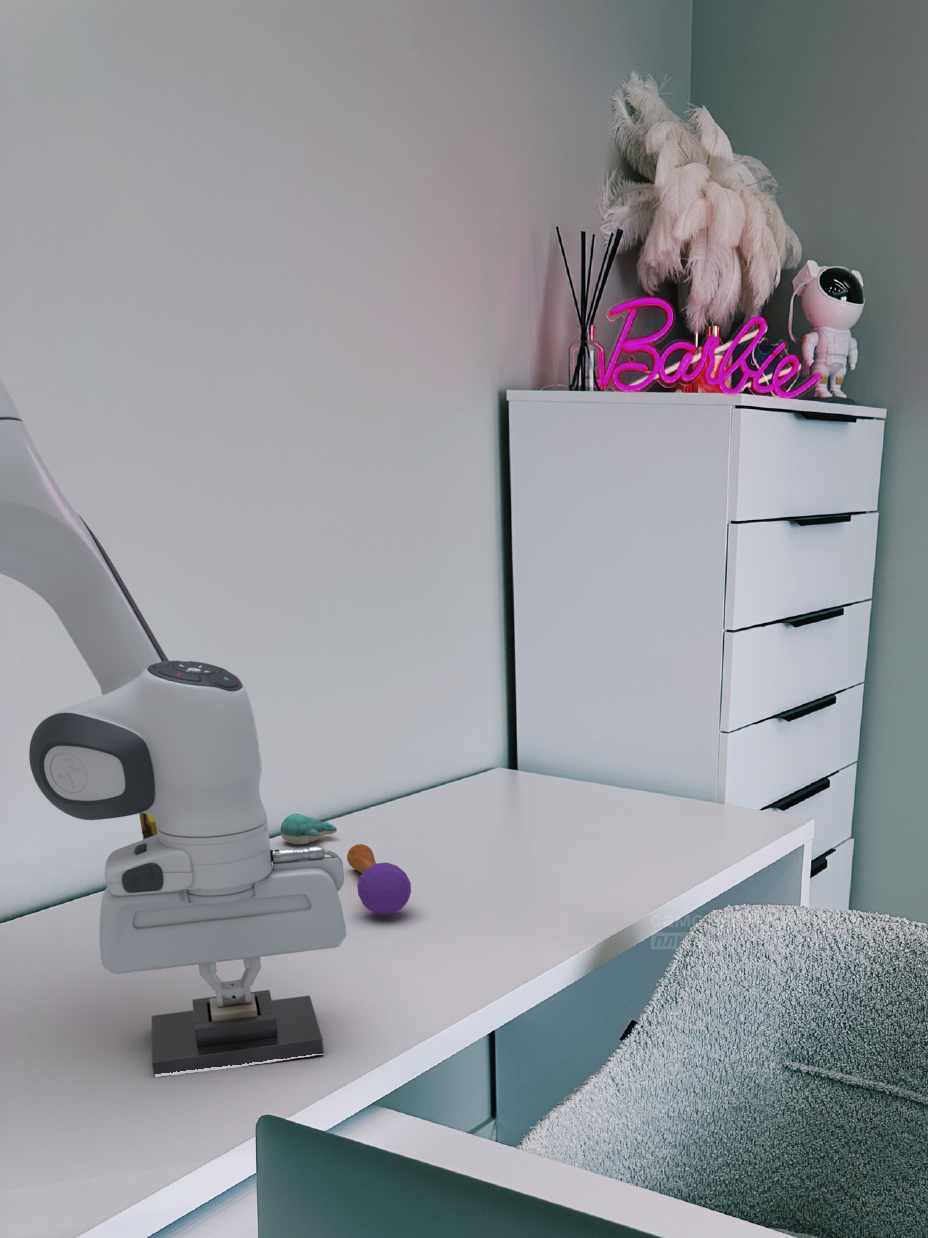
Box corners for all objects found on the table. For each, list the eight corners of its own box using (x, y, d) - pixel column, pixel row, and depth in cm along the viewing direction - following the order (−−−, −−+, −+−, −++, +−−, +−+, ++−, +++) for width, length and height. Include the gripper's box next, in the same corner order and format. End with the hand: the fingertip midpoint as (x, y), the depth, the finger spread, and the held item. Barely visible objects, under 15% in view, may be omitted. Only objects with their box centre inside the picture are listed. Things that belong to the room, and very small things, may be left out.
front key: (213, 1035, 110) (211, 1014, 110) (211, 1018, 114) (209, 998, 113) (259, 1029, 112) (256, 1008, 111) (255, 1012, 115) (253, 992, 114)
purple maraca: (386, 836, 160) (419, 872, 143) (380, 881, 162) (411, 922, 144) (339, 831, 158) (366, 866, 140) (333, 877, 159) (359, 917, 141)
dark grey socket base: (154, 1080, 107) (149, 1043, 105) (153, 1032, 115) (148, 997, 114) (324, 1055, 112) (320, 1020, 110) (311, 1011, 120) (308, 977, 119)
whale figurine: (274, 838, 171) (272, 811, 170) (325, 830, 176) (324, 804, 174) (291, 849, 167) (289, 821, 166) (343, 841, 172) (341, 814, 170)
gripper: (336, 834, 113) (348, 974, 118) (88, 856, 106) (112, 1004, 111) (346, 854, 108) (358, 1000, 113) (85, 878, 101) (110, 1033, 106)
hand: (234, 1002), depth 112 cm, fingers closed, pressing on front key
